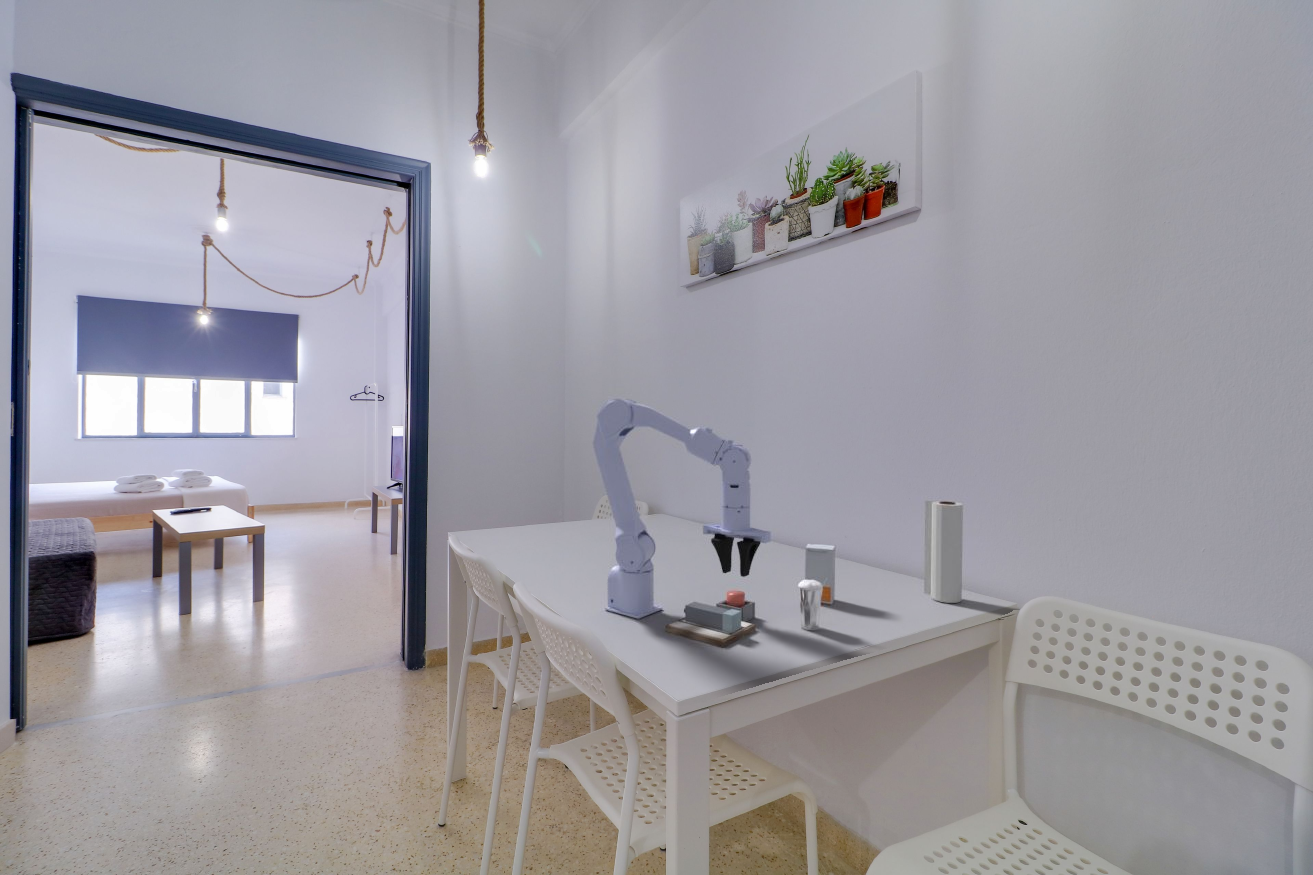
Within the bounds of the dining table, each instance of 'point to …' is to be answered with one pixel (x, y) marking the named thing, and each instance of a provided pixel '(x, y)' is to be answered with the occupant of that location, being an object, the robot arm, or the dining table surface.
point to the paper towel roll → (943, 550)
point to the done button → (736, 598)
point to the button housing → (741, 609)
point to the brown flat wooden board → (708, 632)
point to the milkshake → (810, 603)
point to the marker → (713, 616)
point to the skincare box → (821, 569)
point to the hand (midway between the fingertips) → (735, 573)
